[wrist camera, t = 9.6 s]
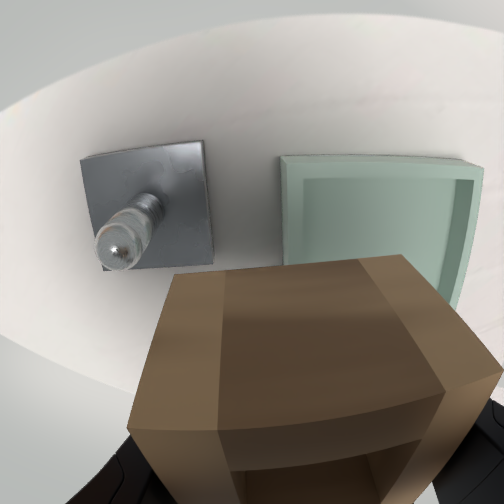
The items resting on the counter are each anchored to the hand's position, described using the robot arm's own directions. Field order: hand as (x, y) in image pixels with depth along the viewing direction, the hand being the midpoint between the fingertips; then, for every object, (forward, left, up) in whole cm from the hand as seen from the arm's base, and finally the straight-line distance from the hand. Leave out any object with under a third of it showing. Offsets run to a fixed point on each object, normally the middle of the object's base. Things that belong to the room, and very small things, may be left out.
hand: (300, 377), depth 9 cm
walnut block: (0, 0, -1) cm, 1 cm away
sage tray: (-2, -7, -12) cm, 14 cm away
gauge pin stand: (+2, +7, -12) cm, 14 cm away
